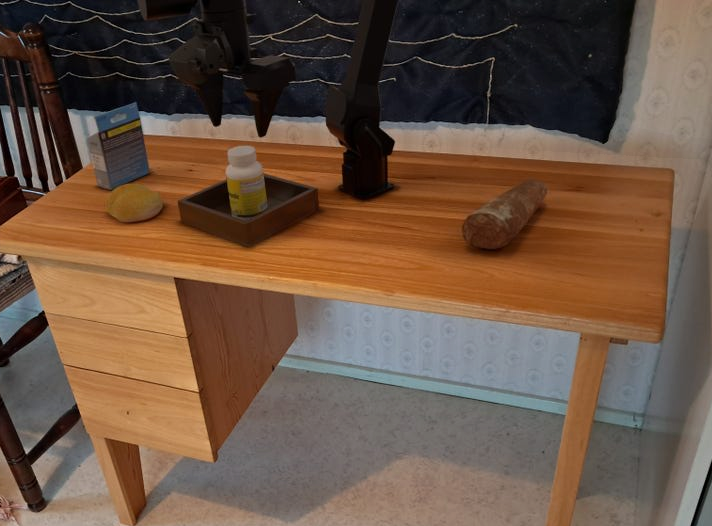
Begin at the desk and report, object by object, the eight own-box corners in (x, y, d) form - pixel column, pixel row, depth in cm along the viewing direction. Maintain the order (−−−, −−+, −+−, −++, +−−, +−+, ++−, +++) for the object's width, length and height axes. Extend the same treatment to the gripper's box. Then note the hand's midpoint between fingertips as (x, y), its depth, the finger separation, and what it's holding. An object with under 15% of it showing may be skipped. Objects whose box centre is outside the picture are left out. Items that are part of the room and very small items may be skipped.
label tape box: (137, 169, 130) (121, 98, 123) (152, 173, 128) (137, 101, 121) (97, 186, 125) (78, 113, 118) (112, 191, 123) (94, 116, 116)
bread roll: (128, 229, 110) (122, 203, 107) (100, 213, 115) (94, 188, 113) (175, 211, 114) (170, 186, 111) (145, 196, 120) (140, 172, 117)
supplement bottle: (228, 211, 111) (219, 147, 106) (263, 204, 112) (255, 141, 107) (236, 225, 107) (227, 159, 101) (272, 218, 108) (265, 152, 102)
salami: (457, 250, 96) (459, 210, 92) (517, 198, 108) (521, 161, 104) (503, 261, 92) (507, 219, 89) (560, 205, 104) (565, 167, 101)
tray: (251, 190, 118) (248, 169, 116) (319, 210, 110) (317, 188, 108) (181, 222, 110) (177, 200, 108) (248, 247, 101) (245, 223, 99)
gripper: (128, 16, 95) (152, 137, 103) (225, 27, 83) (242, 161, 92) (194, 0, 101) (211, 115, 110) (293, 8, 90) (303, 136, 99)
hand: (239, 131), depth 103 cm, fingers open, 9 cm apart
